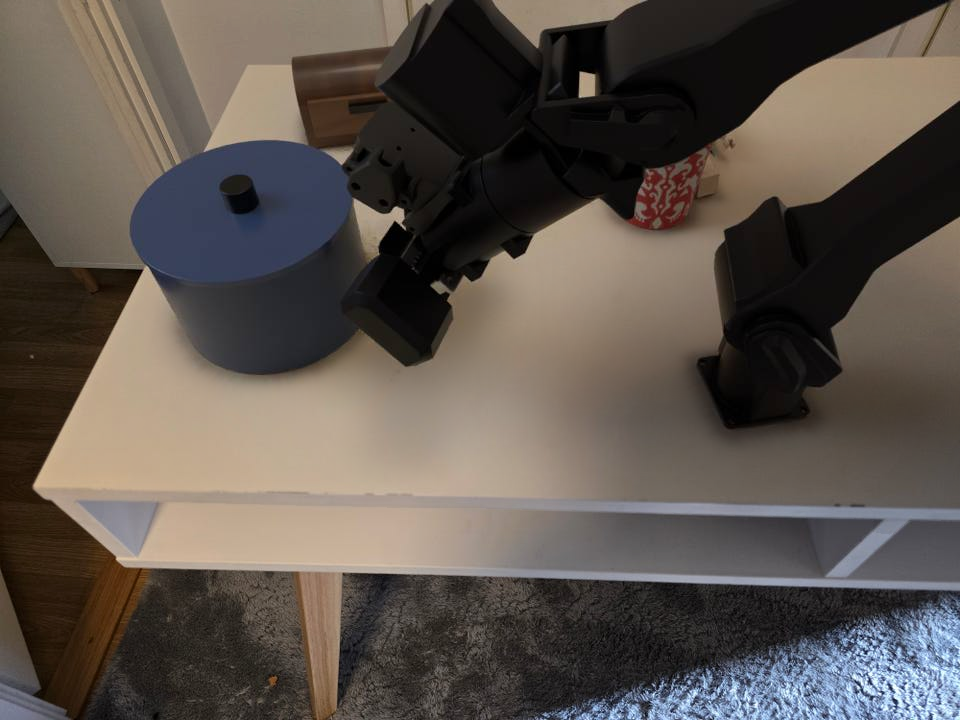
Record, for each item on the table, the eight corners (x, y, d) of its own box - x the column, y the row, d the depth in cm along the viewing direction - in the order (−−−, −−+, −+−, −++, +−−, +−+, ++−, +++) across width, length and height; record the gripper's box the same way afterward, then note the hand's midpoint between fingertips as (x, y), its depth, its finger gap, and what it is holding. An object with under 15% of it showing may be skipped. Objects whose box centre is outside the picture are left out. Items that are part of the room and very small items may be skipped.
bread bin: (440, 139, 73) (434, 68, 67) (309, 155, 72) (291, 84, 66) (430, 99, 78) (424, 29, 72) (308, 113, 77) (291, 44, 71)
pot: (377, 363, 55) (350, 247, 45) (169, 388, 54) (95, 276, 44) (370, 228, 65) (347, 110, 55) (195, 248, 64) (140, 131, 54)
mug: (706, 238, 62) (747, 104, 52) (606, 236, 63) (627, 103, 52) (688, 156, 70) (720, 25, 60) (599, 155, 71) (616, 25, 60)
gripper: (479, 6, 42) (353, 131, 54) (338, 184, 32) (219, 293, 43) (590, 138, 47) (452, 229, 58) (500, 334, 36) (352, 398, 47)
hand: (378, 278), depth 51 cm, fingers closed
